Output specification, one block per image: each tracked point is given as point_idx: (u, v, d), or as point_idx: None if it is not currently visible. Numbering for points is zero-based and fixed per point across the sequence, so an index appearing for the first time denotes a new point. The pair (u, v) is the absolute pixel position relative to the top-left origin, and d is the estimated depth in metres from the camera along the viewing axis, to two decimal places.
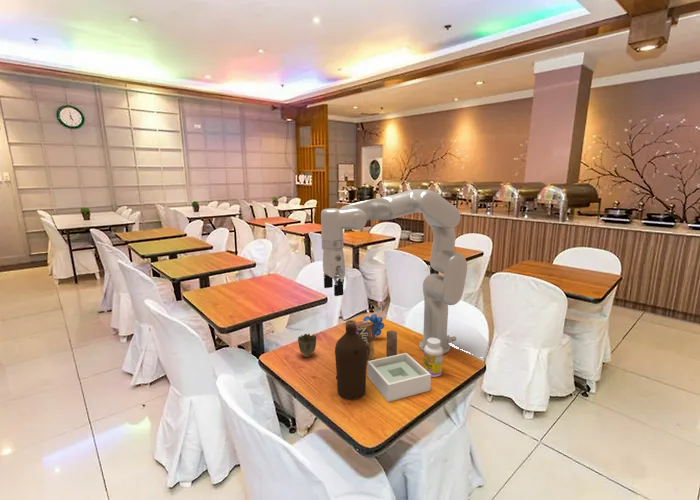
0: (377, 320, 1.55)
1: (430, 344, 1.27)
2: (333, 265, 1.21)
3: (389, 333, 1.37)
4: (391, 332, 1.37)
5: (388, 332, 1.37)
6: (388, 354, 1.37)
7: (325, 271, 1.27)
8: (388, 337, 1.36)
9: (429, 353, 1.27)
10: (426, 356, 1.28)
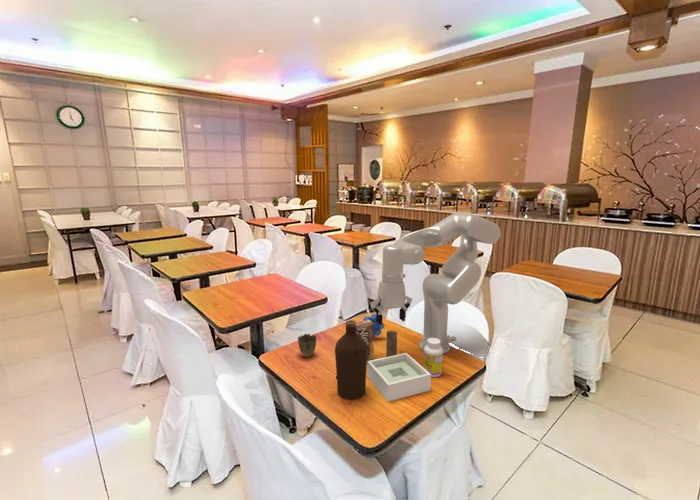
0: None
1: (430, 344, 1.27)
2: None
3: (389, 333, 1.37)
4: (391, 332, 1.37)
5: (388, 332, 1.37)
6: (388, 354, 1.37)
7: (389, 306, 1.32)
8: (388, 337, 1.36)
9: (429, 353, 1.27)
10: (426, 356, 1.28)
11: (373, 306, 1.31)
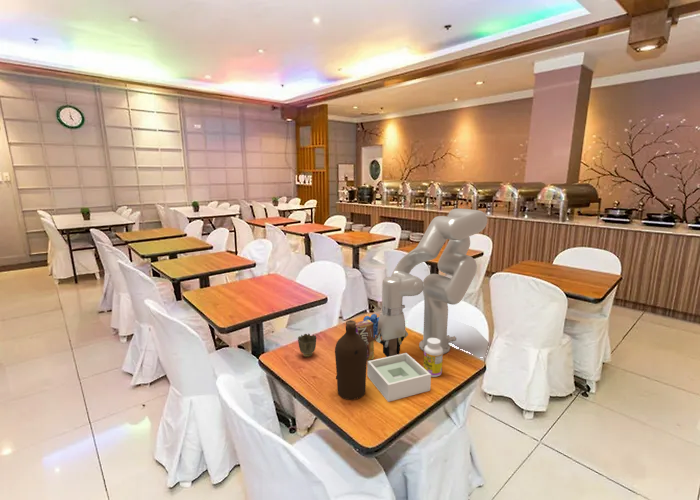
0: (377, 320, 1.55)
1: (430, 344, 1.27)
2: None
3: None
4: None
5: None
6: None
7: (390, 337, 1.35)
8: None
9: (429, 353, 1.27)
10: (426, 356, 1.28)
11: (378, 341, 1.35)
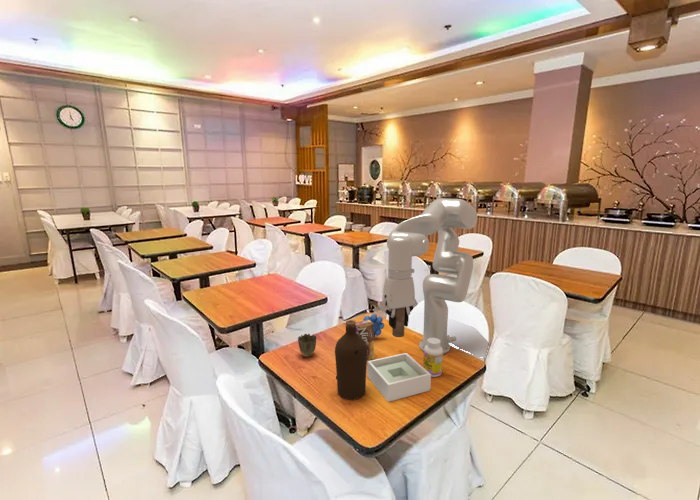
0: (377, 320, 1.55)
1: (430, 344, 1.27)
2: (414, 292, 1.18)
3: None
4: None
5: None
6: None
7: (397, 305, 1.16)
8: None
9: (429, 353, 1.27)
10: (426, 356, 1.28)
11: (384, 309, 1.17)
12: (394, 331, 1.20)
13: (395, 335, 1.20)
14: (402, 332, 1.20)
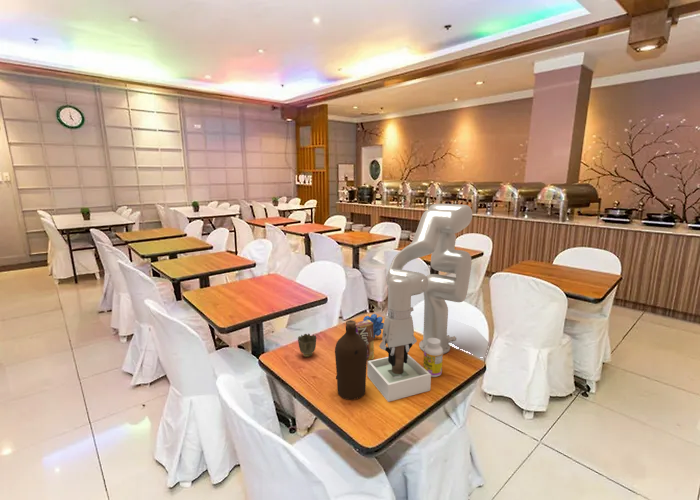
0: (377, 320, 1.55)
1: (430, 344, 1.27)
2: (413, 330, 1.21)
3: None
4: None
5: None
6: None
7: (396, 343, 1.19)
8: None
9: (429, 353, 1.27)
10: (426, 356, 1.28)
11: (383, 348, 1.19)
12: (393, 368, 1.22)
13: (394, 372, 1.22)
14: (401, 369, 1.22)
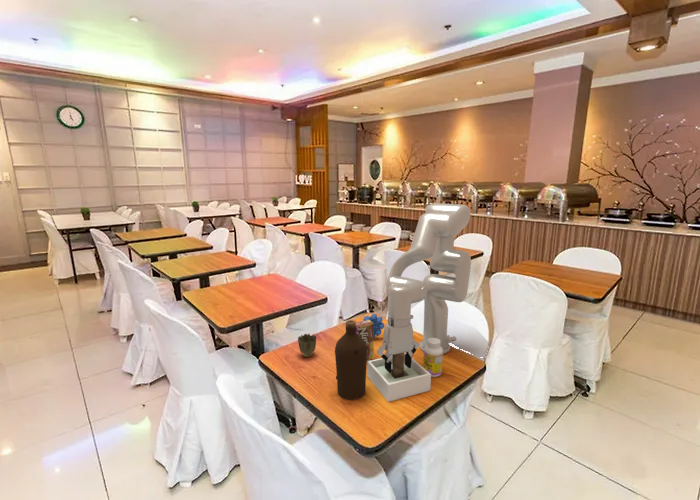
0: (377, 320, 1.55)
1: (430, 344, 1.27)
2: (413, 337, 1.22)
3: None
4: None
5: None
6: (394, 373, 1.23)
7: (396, 351, 1.20)
8: (394, 354, 1.21)
9: (429, 353, 1.27)
10: (426, 356, 1.28)
11: (380, 354, 1.19)
12: None
13: None
14: None
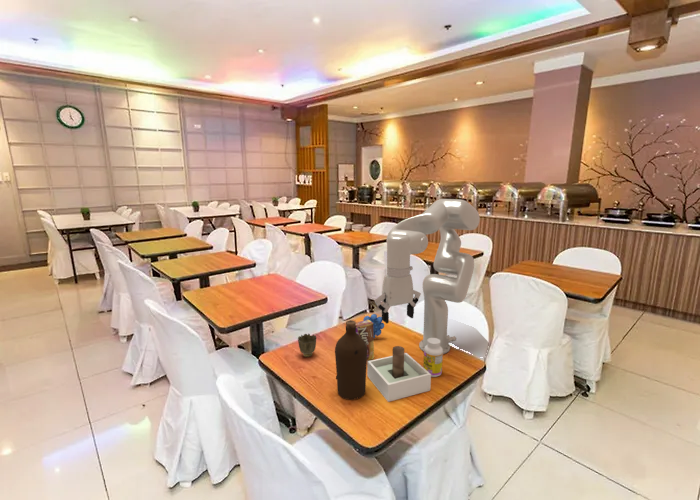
0: (377, 320, 1.55)
1: (430, 344, 1.27)
2: None
3: (395, 349, 1.22)
4: (398, 348, 1.23)
5: (394, 348, 1.23)
6: (394, 373, 1.23)
7: (396, 302, 1.19)
8: (394, 354, 1.21)
9: (429, 353, 1.27)
10: (426, 356, 1.28)
11: (378, 303, 1.18)
12: None
13: None
14: None
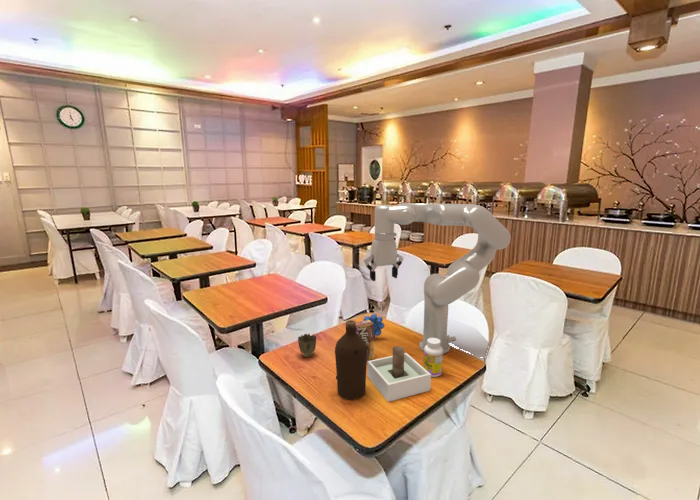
0: (377, 320, 1.55)
1: (430, 344, 1.27)
2: (396, 252, 1.42)
3: (395, 349, 1.22)
4: (398, 348, 1.23)
5: (394, 348, 1.23)
6: (394, 373, 1.23)
7: (382, 263, 1.40)
8: (394, 354, 1.21)
9: (429, 353, 1.27)
10: (426, 356, 1.28)
11: (366, 263, 1.39)
12: None
13: None
14: None
